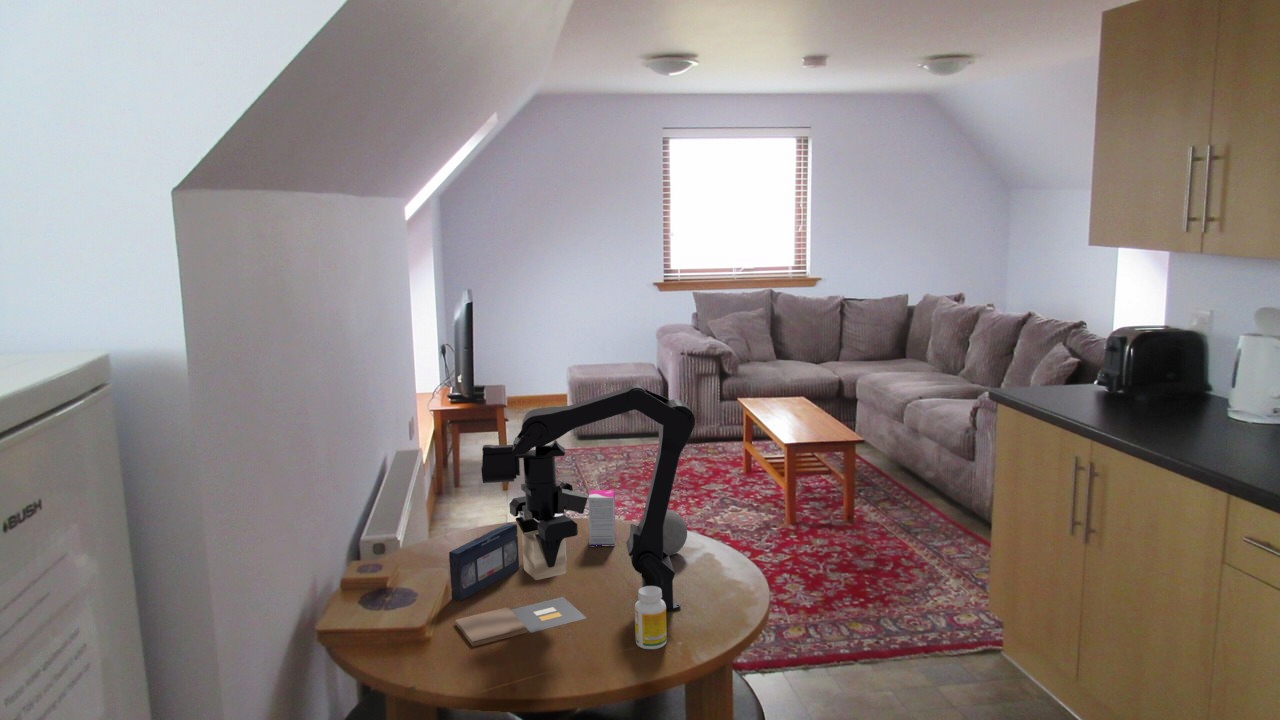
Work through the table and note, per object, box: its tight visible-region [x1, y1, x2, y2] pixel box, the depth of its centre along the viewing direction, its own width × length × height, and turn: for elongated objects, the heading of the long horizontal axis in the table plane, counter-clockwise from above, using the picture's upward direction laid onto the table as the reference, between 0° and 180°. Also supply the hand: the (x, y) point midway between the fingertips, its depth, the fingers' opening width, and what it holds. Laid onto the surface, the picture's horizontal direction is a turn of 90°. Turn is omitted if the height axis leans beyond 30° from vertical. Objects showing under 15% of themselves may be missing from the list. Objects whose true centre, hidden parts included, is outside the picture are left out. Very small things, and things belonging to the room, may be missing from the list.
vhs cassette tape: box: [448, 522, 520, 602], centre depth 183 cm, size 18×3×10 cm, turn 148°
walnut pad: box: [455, 606, 528, 647], centre depth 164 cm, size 10×10×1 cm
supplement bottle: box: [634, 586, 668, 650], centre depth 156 cm, size 5×5×10 cm
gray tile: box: [510, 596, 587, 634], centre depth 169 cm, size 11×11×1 cm
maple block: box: [521, 530, 567, 581], centre depth 167 cm, size 6×6×7 cm
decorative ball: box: [663, 508, 688, 557], centre depth 196 cm, size 10×10×10 cm
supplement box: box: [587, 489, 616, 546], centre depth 204 cm, size 6×6×12 cm
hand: (544, 561), depth 167 cm, fingers closed on maple block, 6 cm apart
